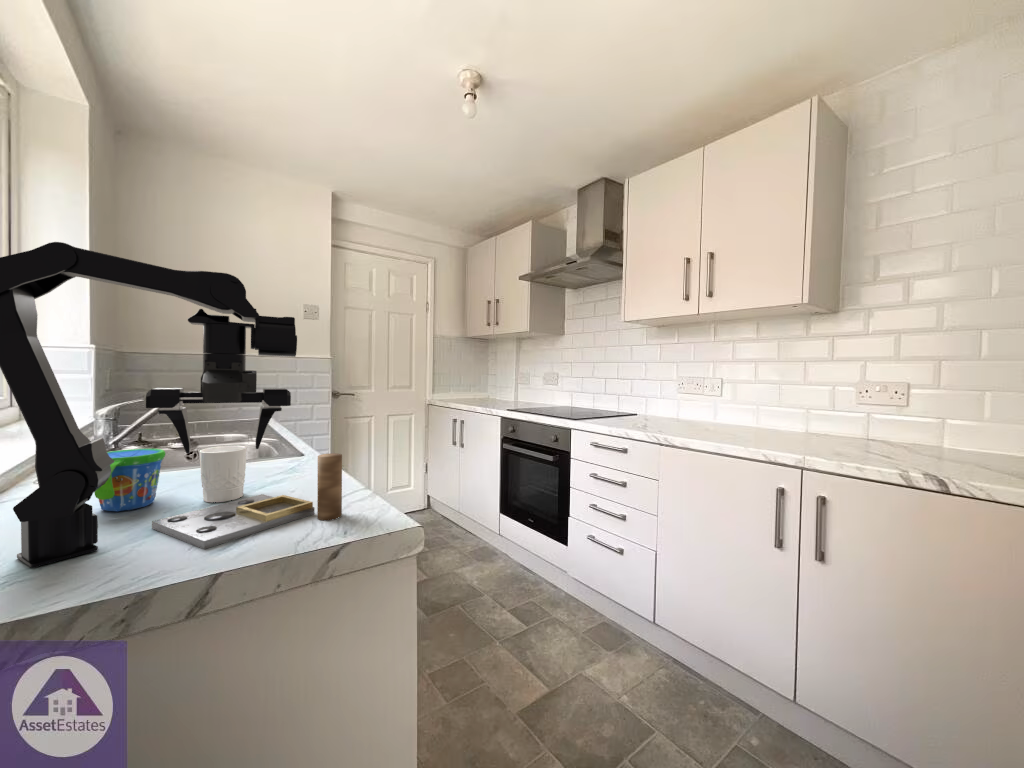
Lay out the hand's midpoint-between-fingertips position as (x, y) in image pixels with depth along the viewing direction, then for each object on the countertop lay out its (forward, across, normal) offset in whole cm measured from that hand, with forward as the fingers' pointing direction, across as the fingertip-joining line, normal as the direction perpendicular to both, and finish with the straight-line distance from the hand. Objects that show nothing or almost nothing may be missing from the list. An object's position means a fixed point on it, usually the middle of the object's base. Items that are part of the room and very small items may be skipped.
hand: (223, 450), depth 69 cm
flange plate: (+13, +2, +4) cm, 14 cm away
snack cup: (+13, -15, +23) cm, 30 cm away
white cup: (+13, -1, +21) cm, 24 cm away
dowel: (+13, +16, -2) cm, 20 cm away
